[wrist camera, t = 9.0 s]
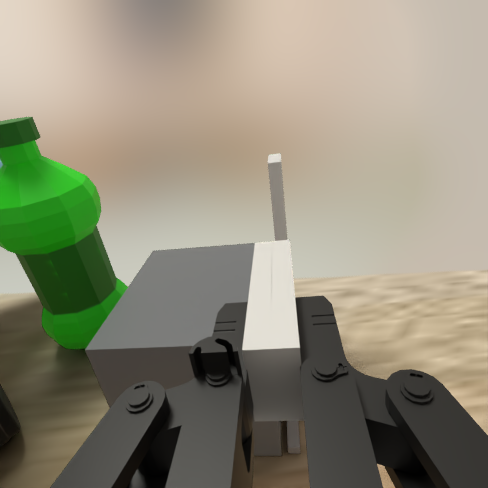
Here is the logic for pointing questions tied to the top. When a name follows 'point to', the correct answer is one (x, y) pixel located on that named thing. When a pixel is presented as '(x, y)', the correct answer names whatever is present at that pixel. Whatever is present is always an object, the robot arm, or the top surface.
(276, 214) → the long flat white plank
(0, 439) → the camera
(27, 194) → the plastic bottle
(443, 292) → the top surface
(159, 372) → the housing
